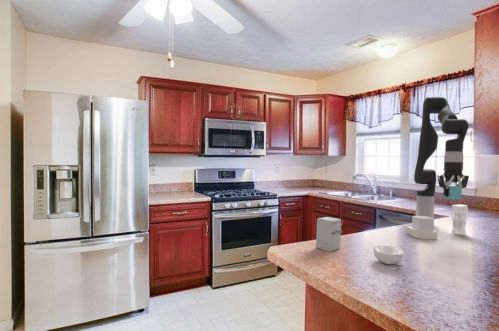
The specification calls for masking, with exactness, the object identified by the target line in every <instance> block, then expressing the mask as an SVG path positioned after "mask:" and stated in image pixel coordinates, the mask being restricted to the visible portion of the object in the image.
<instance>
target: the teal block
mask: <svg viewBox="0 0 499 331" xmlns="http://www.w3.org/2000/svg"><path fill="white" fill-rule="evenodd" d="M448 189H449V196H448V197H446V196H444V195H443V198H444V199H449V200H462V192H463V191H462V190H463V188H462V187H460V186H456V185H450V186H449V188H448Z"/></svg>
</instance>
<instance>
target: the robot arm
mask: <svg viewBox="0 0 499 331" xmlns="http://www.w3.org/2000/svg"><path fill="white" fill-rule="evenodd" d="M421 112H422V114H421V116H422V117H421V129H420V134H419V135H420V136H419V141H418V153H417V161H416V165H415V169H414V175H413V177H414V178H413V181H414V183H415V184H416V185H425V187H422V188H421V189H417V190H416V201H415V202H416V205H415V216H427V217H430V218H433V219H434V218H435V193H436V184H437V181H438V187H439V188H442V189H443V192H442V193H443V194H442V195H443V197H444V196H446V197H448V196H449V189H448V188H449V186H452V183H453V184H454V186H460V187H462V189H464V188H465V189H466V188H467V186H468V182H469V178H470V176H469V175H464V174H463V172H464V142H465V139H466V135H467V133H468V130H469V127H470V126H469V125H470V124H469V122H468V121H467V120H466V119H463V118H462V119H461V118H460V119H458V117H457V115H456V114H455V113H454V112H453V111H452V110H451V107H450V104H449V102H448V101H447V99H446V98H445V97H443V96H429V97H427V96H426V97H425V98H424V99H423V103H422V111H421ZM431 114H434V115H435V114H437V120H438V122H439V123H440V124H441V131H442V133H443V134H445V135H456V137H455V138H451V139H450V138H449V139H447V140H446V141H445V142H444V143H445V147H444V149H445V150H444V159H443V162H444V163H443V171H444V172H443V174H437V173H436V172H437V171H436V170H434V169H432V168H425V166H426V163H427V161H428V159H430V158H431V156H433V154H434V153H435V152H436V150H437V148H438V143H439V135H438V133H437V131H436V129H435V128H434V126H433V124H432V122H431ZM434 220H435V219H434Z"/></svg>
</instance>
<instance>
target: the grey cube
mask: <svg viewBox="0 0 499 331" xmlns="http://www.w3.org/2000/svg"><path fill="white" fill-rule="evenodd" d="M411 216H412V218H411V227H412V228H415V229H417V230H419V231H434V230H435V227H434V226H435V219H433V218H430V217H427V216H416V215H411Z"/></svg>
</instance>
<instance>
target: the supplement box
mask: <svg viewBox="0 0 499 331" xmlns="http://www.w3.org/2000/svg"><path fill="white" fill-rule="evenodd" d="M341 228H342V219H341V218H336V217H335V218H334V217H330V216H324V217H318V218H317V219H316V237H315V238H316V241H315V242H316V243H315V244H316V245H315V247H316V248H318V249H319V250H322V251H326V252H333V251H336V250H340V249H341V235H342V233H341V231H342V229H341Z"/></svg>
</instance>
